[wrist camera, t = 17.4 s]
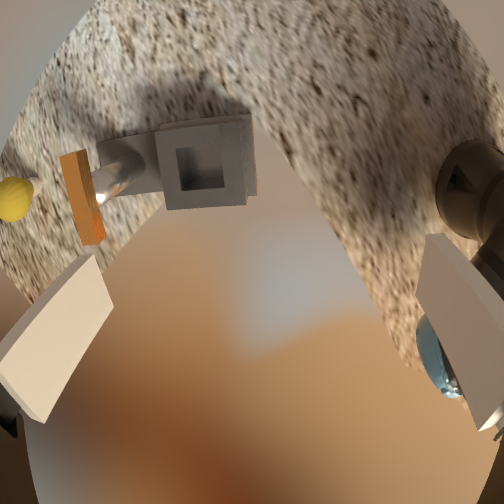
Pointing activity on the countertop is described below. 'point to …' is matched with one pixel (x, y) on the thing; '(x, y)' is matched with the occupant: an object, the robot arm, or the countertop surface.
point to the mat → (142, 146)
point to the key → (96, 188)
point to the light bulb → (17, 196)
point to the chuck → (207, 161)
